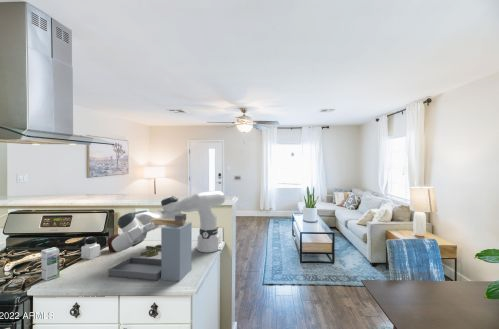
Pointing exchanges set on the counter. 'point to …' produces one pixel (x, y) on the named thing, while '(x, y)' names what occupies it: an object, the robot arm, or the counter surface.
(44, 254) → the syrup box
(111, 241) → the muffin
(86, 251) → the medicine bottle
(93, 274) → the counter surface
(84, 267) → the counter surface
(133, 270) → the charcoal tray
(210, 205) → the robot arm
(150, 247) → the cookie cutter
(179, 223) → the oak handled hammer
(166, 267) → the slate stand
